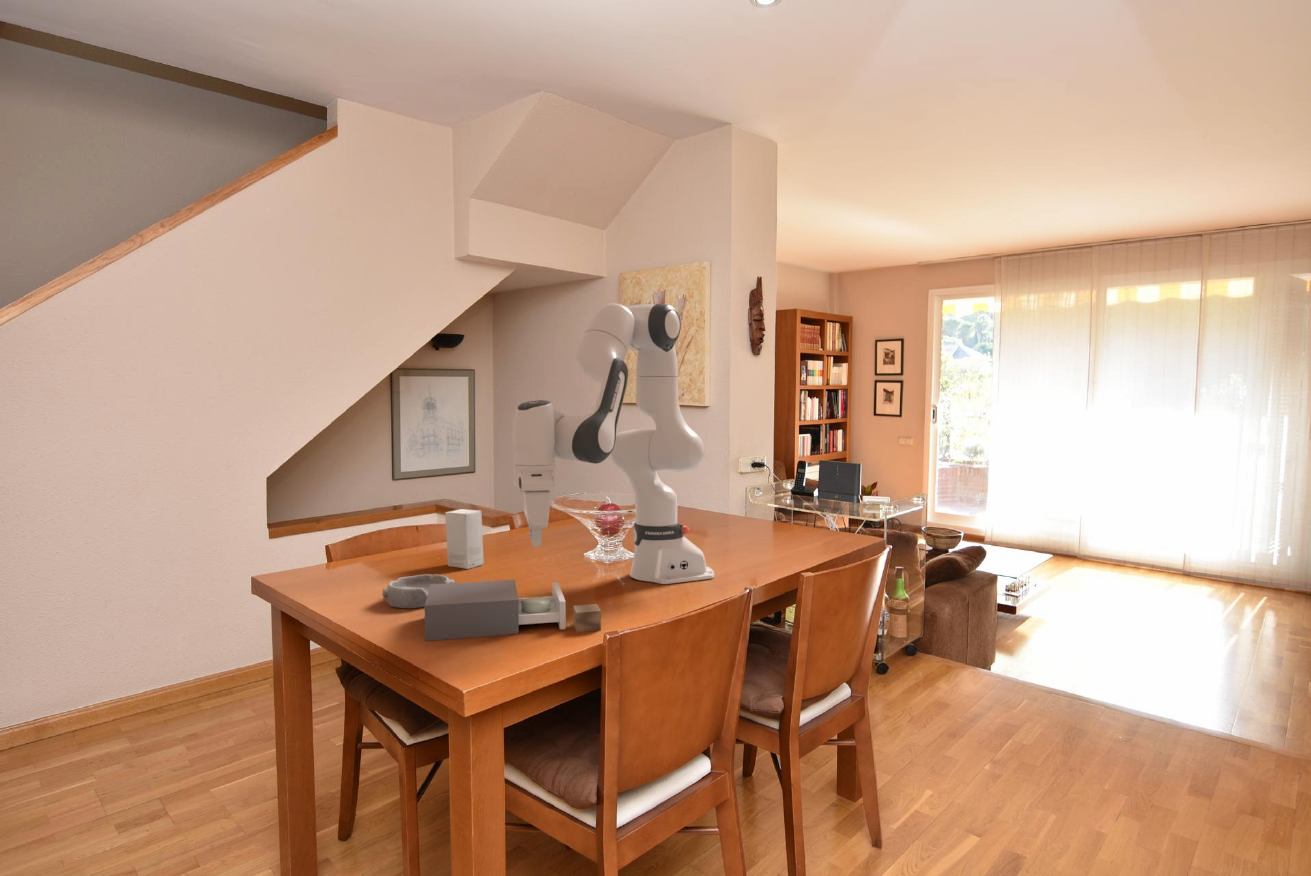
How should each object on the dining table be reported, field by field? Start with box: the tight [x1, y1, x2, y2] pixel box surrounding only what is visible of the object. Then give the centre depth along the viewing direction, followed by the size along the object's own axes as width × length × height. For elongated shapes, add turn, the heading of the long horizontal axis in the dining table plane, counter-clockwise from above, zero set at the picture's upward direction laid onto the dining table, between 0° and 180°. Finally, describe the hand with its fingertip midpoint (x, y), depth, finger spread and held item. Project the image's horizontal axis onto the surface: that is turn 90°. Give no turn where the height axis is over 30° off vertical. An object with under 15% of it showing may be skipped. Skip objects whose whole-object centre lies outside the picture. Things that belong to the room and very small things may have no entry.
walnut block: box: [572, 603, 602, 633], centre depth 148 cm, size 5×5×4 cm
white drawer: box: [518, 581, 567, 630], centre depth 152 cm, size 18×16×6 cm
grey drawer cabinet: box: [424, 579, 520, 642], centre depth 150 cm, size 18×16×7 cm
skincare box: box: [444, 508, 484, 570], centre depth 201 cm, size 8×7×16 cm
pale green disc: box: [521, 596, 550, 614], centre depth 153 cm, size 6×6×2 cm
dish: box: [382, 573, 455, 609], centre depth 167 cm, size 14×14×5 cm
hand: (535, 542), depth 152 cm, fingers open, 7 cm apart
